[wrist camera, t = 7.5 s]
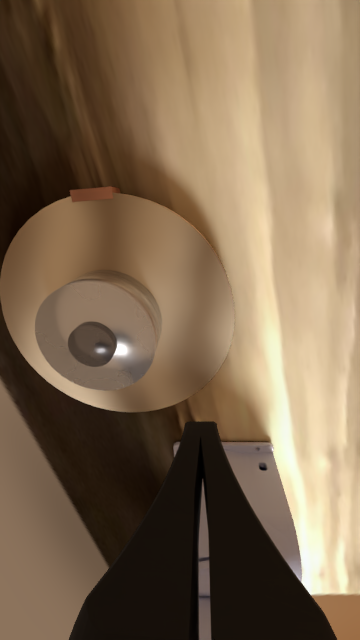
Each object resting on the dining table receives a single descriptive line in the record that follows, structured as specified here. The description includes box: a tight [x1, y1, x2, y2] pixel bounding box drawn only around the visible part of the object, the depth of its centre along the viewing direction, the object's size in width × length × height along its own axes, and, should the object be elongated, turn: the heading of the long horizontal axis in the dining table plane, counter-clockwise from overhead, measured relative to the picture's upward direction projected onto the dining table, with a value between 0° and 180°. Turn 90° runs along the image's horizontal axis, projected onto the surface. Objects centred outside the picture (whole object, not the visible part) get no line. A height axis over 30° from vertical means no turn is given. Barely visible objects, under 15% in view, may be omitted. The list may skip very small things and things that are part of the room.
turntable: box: [0, 186, 235, 412], centre depth 18 cm, size 16×16×2 cm
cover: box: [35, 270, 162, 391], centre depth 16 cm, size 7×7×4 cm
